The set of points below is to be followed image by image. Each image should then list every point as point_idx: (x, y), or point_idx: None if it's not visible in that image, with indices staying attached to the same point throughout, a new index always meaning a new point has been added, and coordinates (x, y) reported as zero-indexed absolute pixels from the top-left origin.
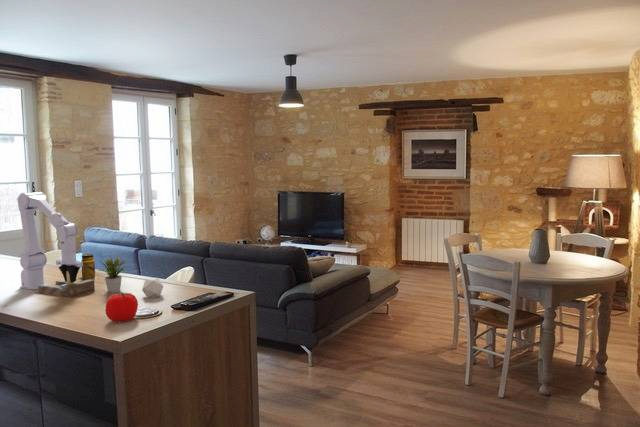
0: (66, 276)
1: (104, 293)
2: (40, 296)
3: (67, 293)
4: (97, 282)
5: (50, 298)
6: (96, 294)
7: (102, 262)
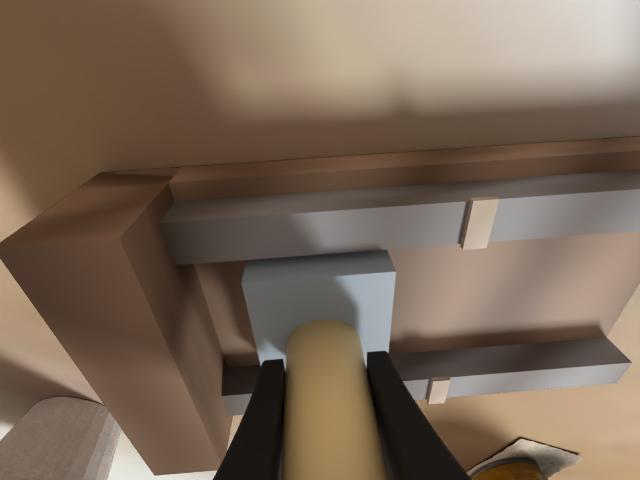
0: (386, 428)
1: (44, 369)
2: (516, 17)
3: (158, 182)
4: None
5: (293, 9)
6: None
7: None
